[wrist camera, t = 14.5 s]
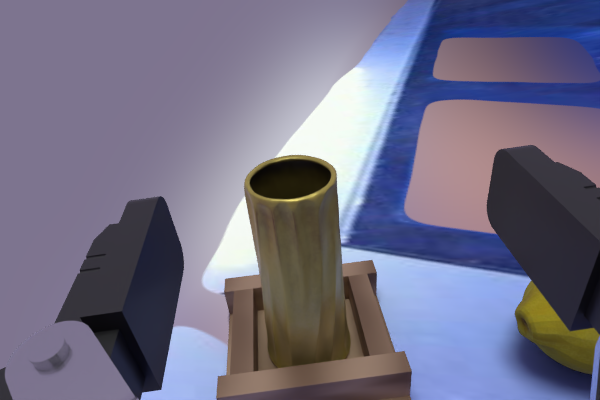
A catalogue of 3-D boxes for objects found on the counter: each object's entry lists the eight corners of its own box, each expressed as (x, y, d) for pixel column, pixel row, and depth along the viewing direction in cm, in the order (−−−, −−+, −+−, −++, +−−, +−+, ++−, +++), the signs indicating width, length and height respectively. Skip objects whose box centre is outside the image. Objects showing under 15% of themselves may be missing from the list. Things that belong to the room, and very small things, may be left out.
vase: (257, 373, 30) (219, 202, 23) (280, 308, 35) (255, 149, 28) (344, 386, 29) (335, 209, 21) (355, 316, 34) (351, 152, 26)
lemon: (624, 304, 34) (661, 221, 30) (701, 397, 28) (763, 307, 23) (482, 313, 35) (498, 232, 30) (525, 406, 28) (554, 320, 24)
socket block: (370, 285, 38) (370, 254, 36) (412, 415, 28) (415, 382, 26) (233, 302, 38) (225, 272, 36) (226, 441, 28) (215, 409, 26)
